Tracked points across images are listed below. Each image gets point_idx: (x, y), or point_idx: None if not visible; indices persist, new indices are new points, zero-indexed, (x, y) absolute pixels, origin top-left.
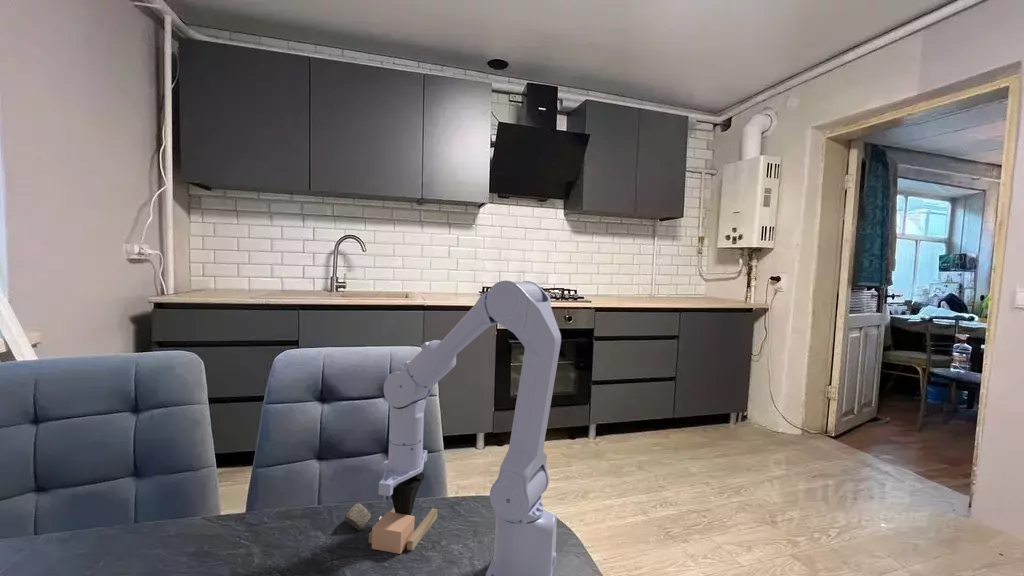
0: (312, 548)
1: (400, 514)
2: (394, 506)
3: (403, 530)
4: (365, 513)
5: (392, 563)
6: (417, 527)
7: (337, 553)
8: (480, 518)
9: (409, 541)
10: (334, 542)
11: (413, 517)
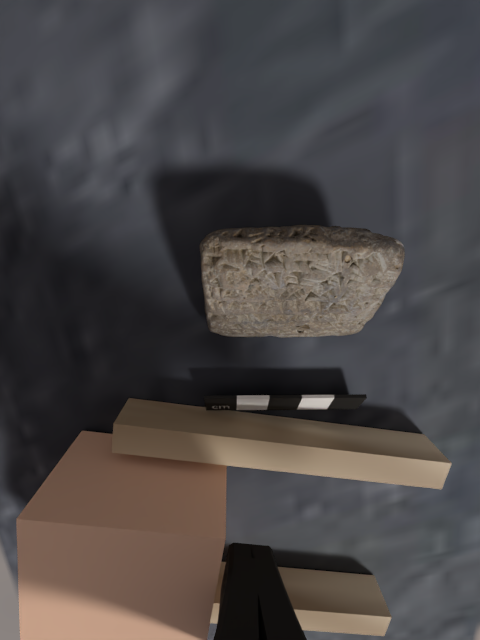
0: (3, 124)
1: (203, 611)
2: (218, 624)
3: None
4: (326, 323)
5: None
6: (214, 604)
7: (7, 288)
8: None
9: None
10: (91, 228)
11: None
